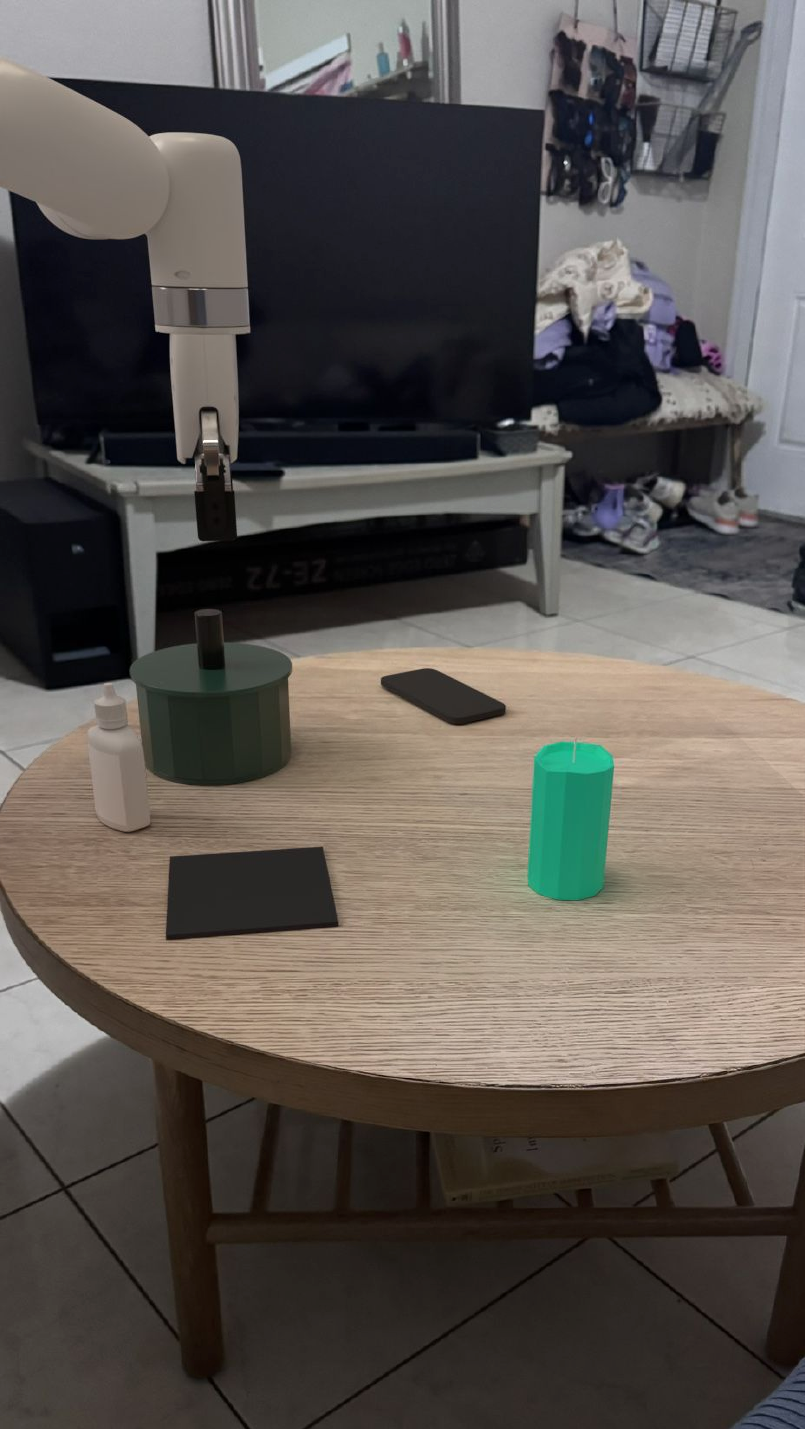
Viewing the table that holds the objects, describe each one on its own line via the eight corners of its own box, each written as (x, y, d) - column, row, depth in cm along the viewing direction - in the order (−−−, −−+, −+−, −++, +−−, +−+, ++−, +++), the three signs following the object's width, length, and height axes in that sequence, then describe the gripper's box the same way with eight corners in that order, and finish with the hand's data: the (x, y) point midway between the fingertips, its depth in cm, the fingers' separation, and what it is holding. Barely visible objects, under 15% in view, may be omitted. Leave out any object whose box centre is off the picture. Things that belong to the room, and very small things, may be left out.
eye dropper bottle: (96, 837, 95) (79, 697, 89) (95, 808, 100) (78, 674, 94) (152, 831, 96) (138, 693, 91) (148, 803, 101) (134, 671, 95)
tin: (141, 789, 103) (132, 698, 100) (147, 733, 115) (139, 651, 112) (295, 781, 106) (291, 692, 102) (285, 727, 118) (282, 646, 114)
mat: (166, 940, 81) (165, 935, 81) (170, 860, 91) (169, 856, 91) (338, 926, 83) (338, 921, 83) (323, 850, 94) (323, 846, 94)
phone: (453, 719, 119) (376, 677, 130) (453, 727, 119) (376, 684, 130) (511, 706, 123) (430, 666, 134) (510, 713, 123) (430, 673, 134)
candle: (561, 856, 94) (571, 716, 89) (619, 883, 90) (633, 739, 85) (510, 880, 90) (517, 735, 85) (568, 909, 86) (580, 759, 81)
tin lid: (126, 707, 99) (118, 638, 97) (134, 655, 112) (128, 593, 109) (298, 700, 102) (295, 633, 99) (287, 650, 115) (284, 589, 112)
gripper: (157, 306, 100) (175, 508, 108) (149, 317, 85) (170, 551, 93) (246, 308, 102) (257, 507, 109) (253, 318, 87) (265, 549, 94)
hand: (217, 527), depth 101 cm, fingers open, 9 cm apart
